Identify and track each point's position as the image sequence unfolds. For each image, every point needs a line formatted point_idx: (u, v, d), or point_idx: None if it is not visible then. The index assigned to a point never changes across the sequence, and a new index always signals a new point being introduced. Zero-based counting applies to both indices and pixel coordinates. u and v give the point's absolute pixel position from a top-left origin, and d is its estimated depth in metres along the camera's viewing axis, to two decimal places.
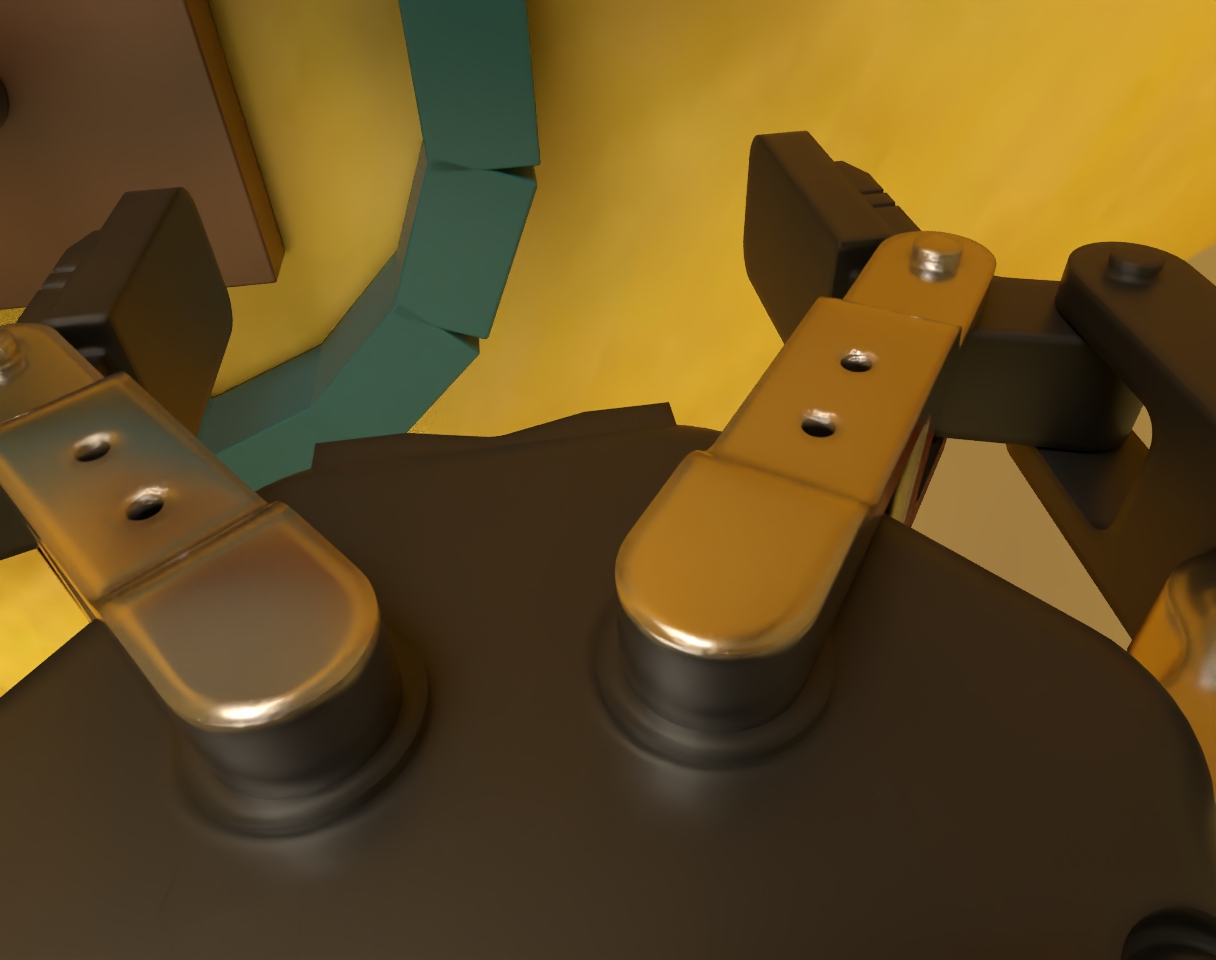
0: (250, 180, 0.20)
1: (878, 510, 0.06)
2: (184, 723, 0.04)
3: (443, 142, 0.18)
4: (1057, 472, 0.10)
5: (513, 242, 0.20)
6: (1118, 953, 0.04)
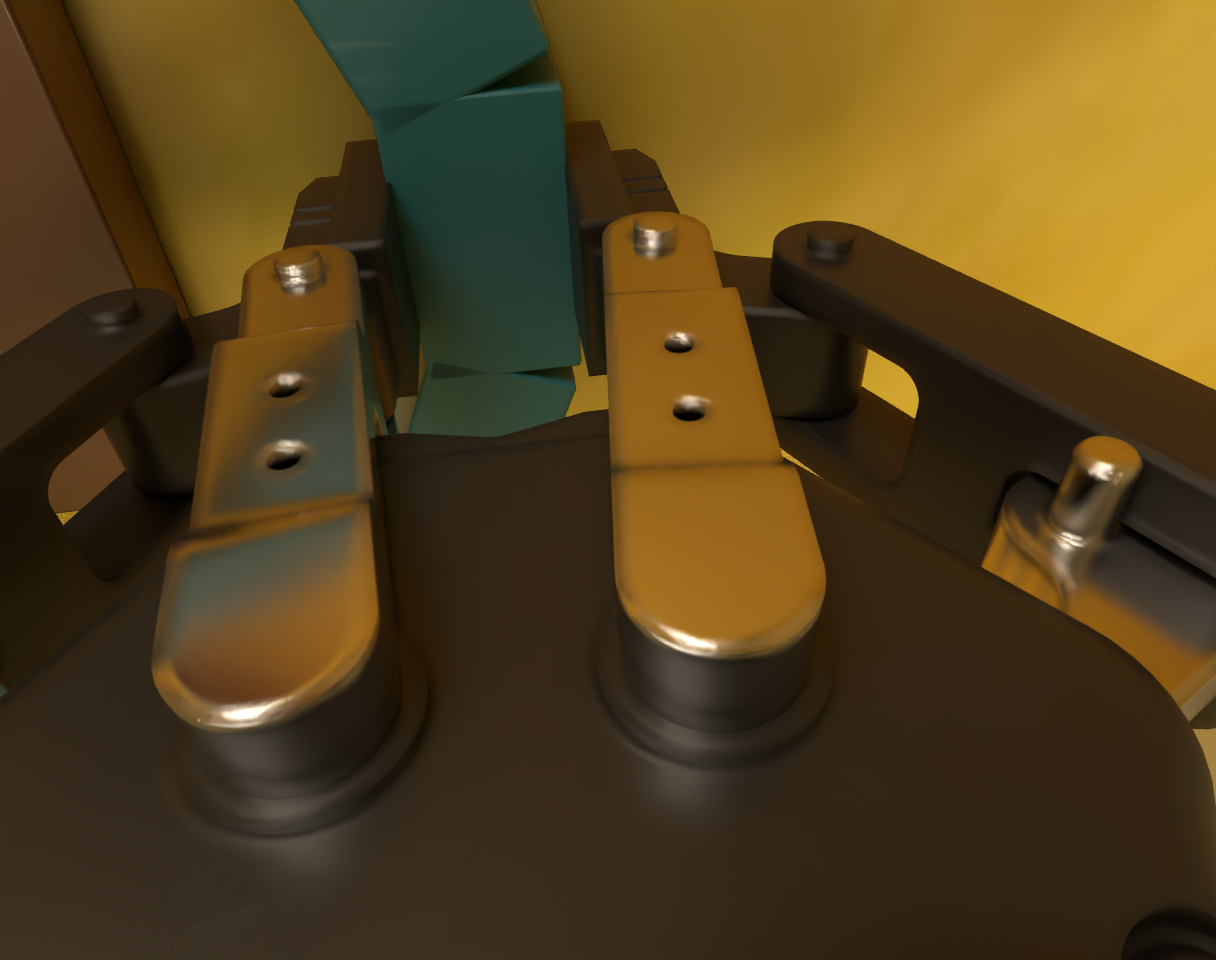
0: None
1: None
2: None
3: (447, 342, 0.13)
4: (824, 444, 0.10)
5: None
6: (1120, 954, 0.04)
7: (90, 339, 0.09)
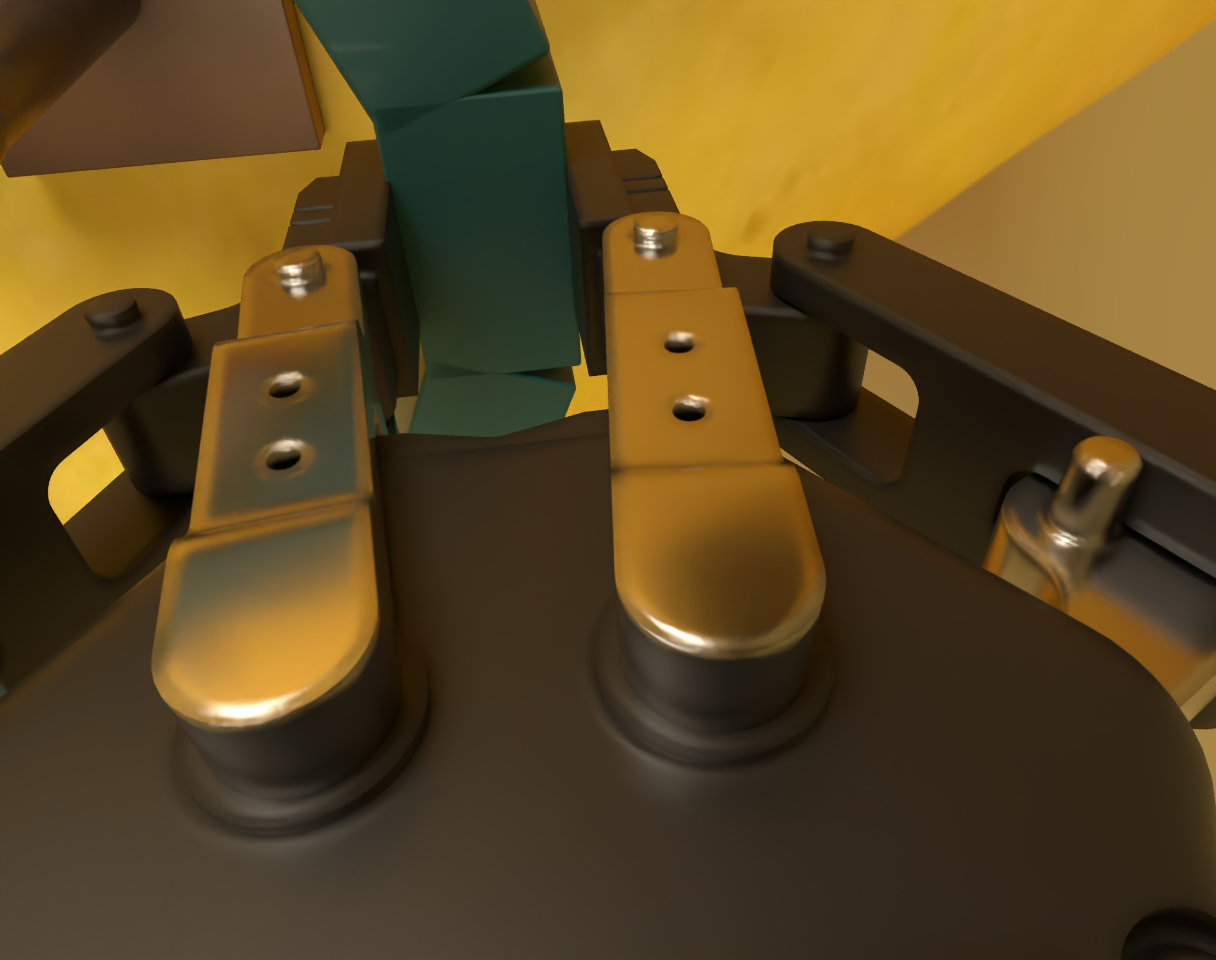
0: (303, 69, 0.28)
1: None
2: None
3: (447, 343, 0.13)
4: (824, 444, 0.10)
5: None
6: (1118, 953, 0.04)
7: (89, 340, 0.09)
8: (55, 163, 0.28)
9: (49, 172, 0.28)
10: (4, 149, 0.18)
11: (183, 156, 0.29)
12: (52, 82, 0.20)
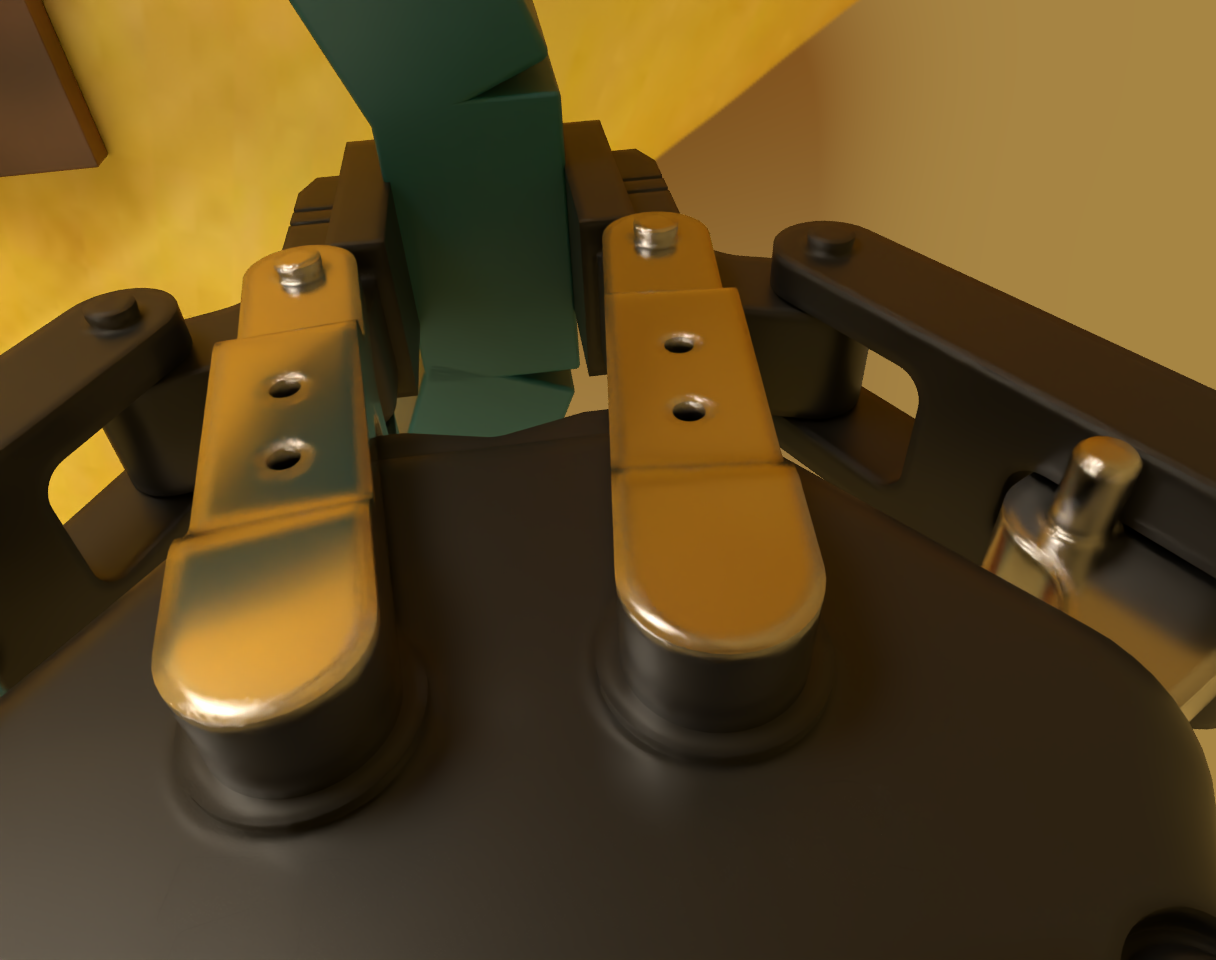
0: (78, 110, 0.39)
1: None
2: None
3: (446, 346, 0.13)
4: (824, 443, 0.10)
5: None
6: (1120, 953, 0.04)
7: (90, 340, 0.09)
8: None
9: None
10: None
11: None
12: None
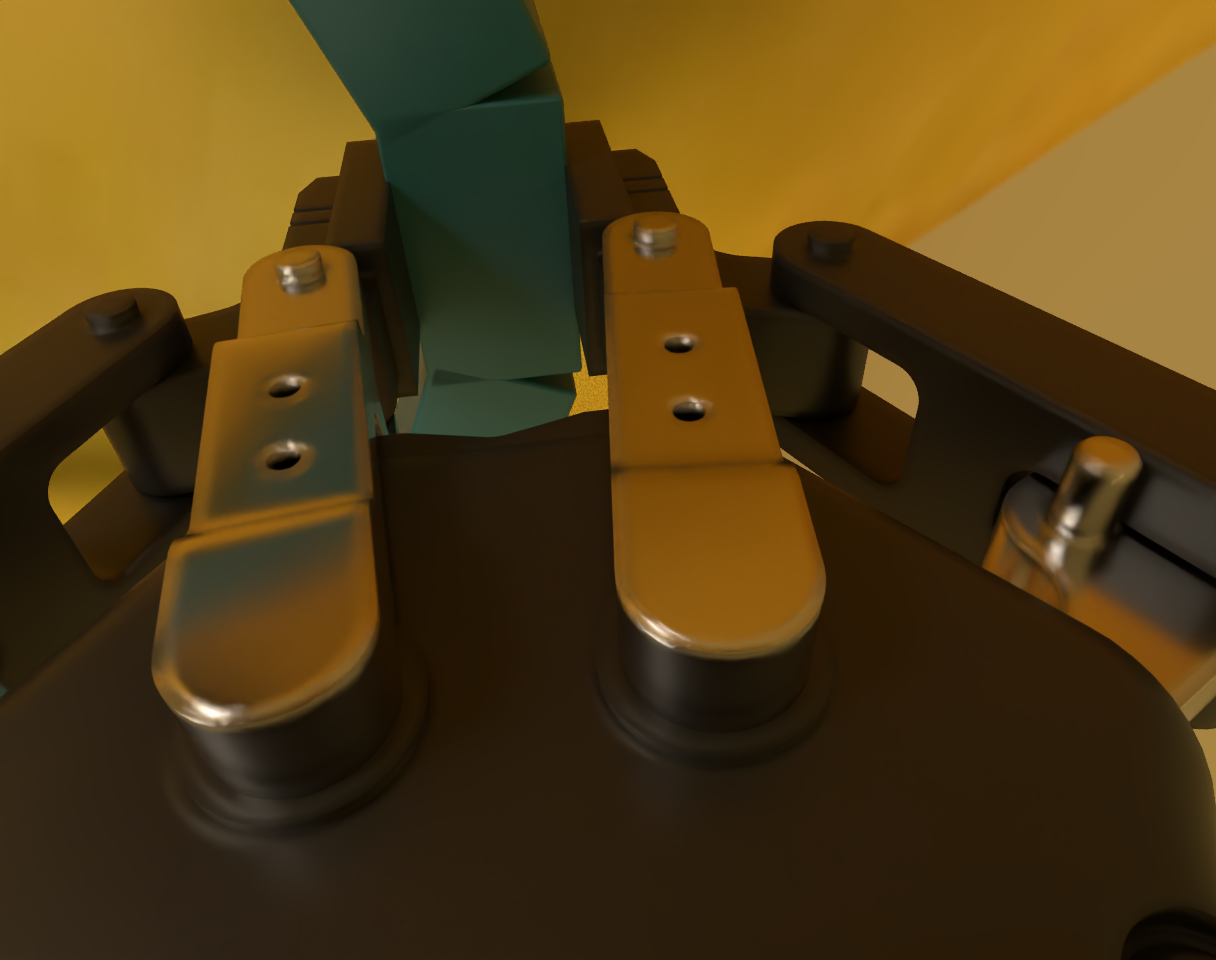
0: None
1: None
2: None
3: (449, 350, 0.13)
4: (824, 444, 0.10)
5: None
6: (1122, 954, 0.04)
7: (89, 341, 0.09)
8: None
9: None
10: None
11: None
12: None
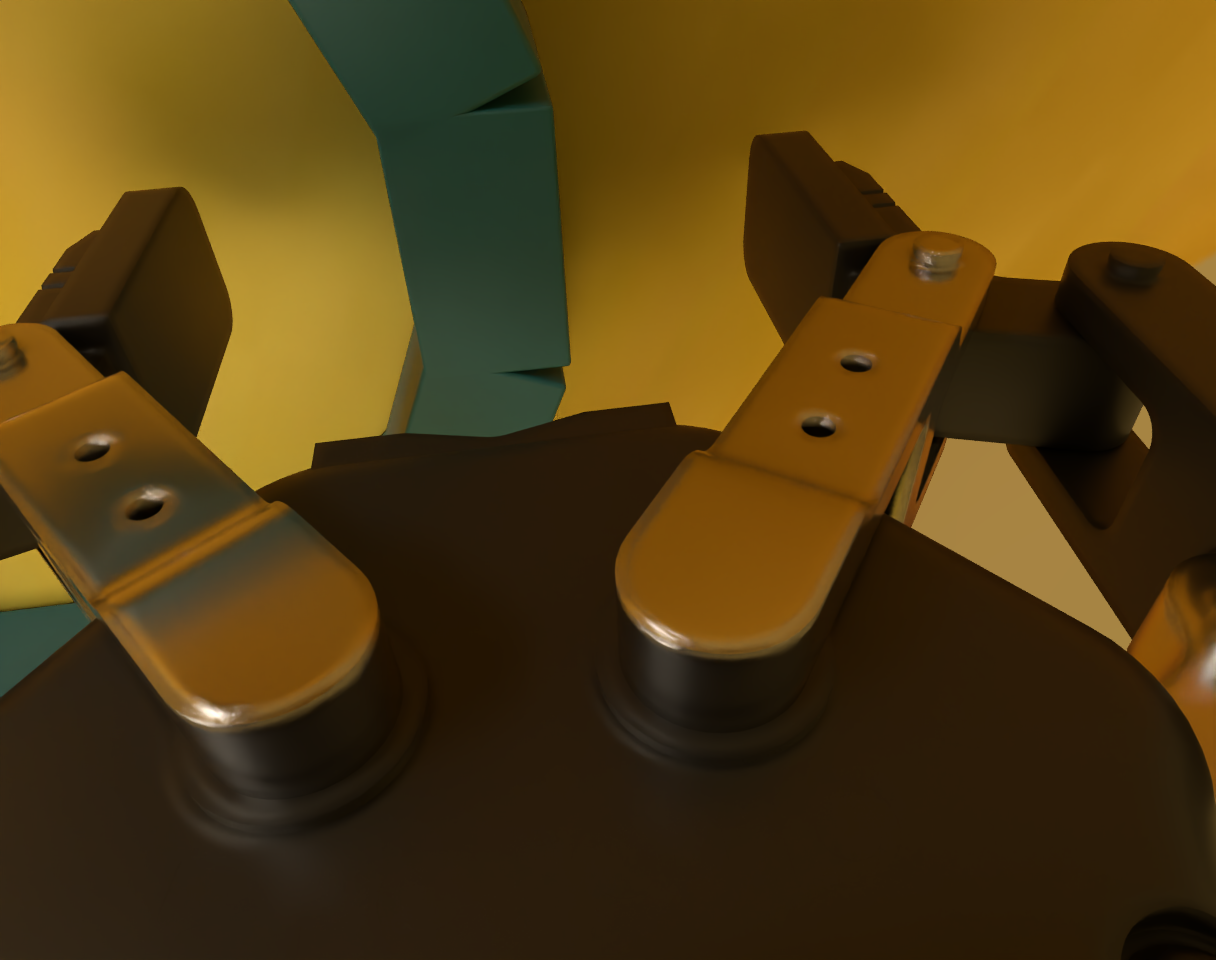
0: None
1: (878, 510, 0.06)
2: (184, 723, 0.04)
3: (444, 343, 0.14)
4: (1057, 472, 0.10)
5: None
6: (1120, 953, 0.04)
7: None
8: None
9: None
10: None
11: None
12: None
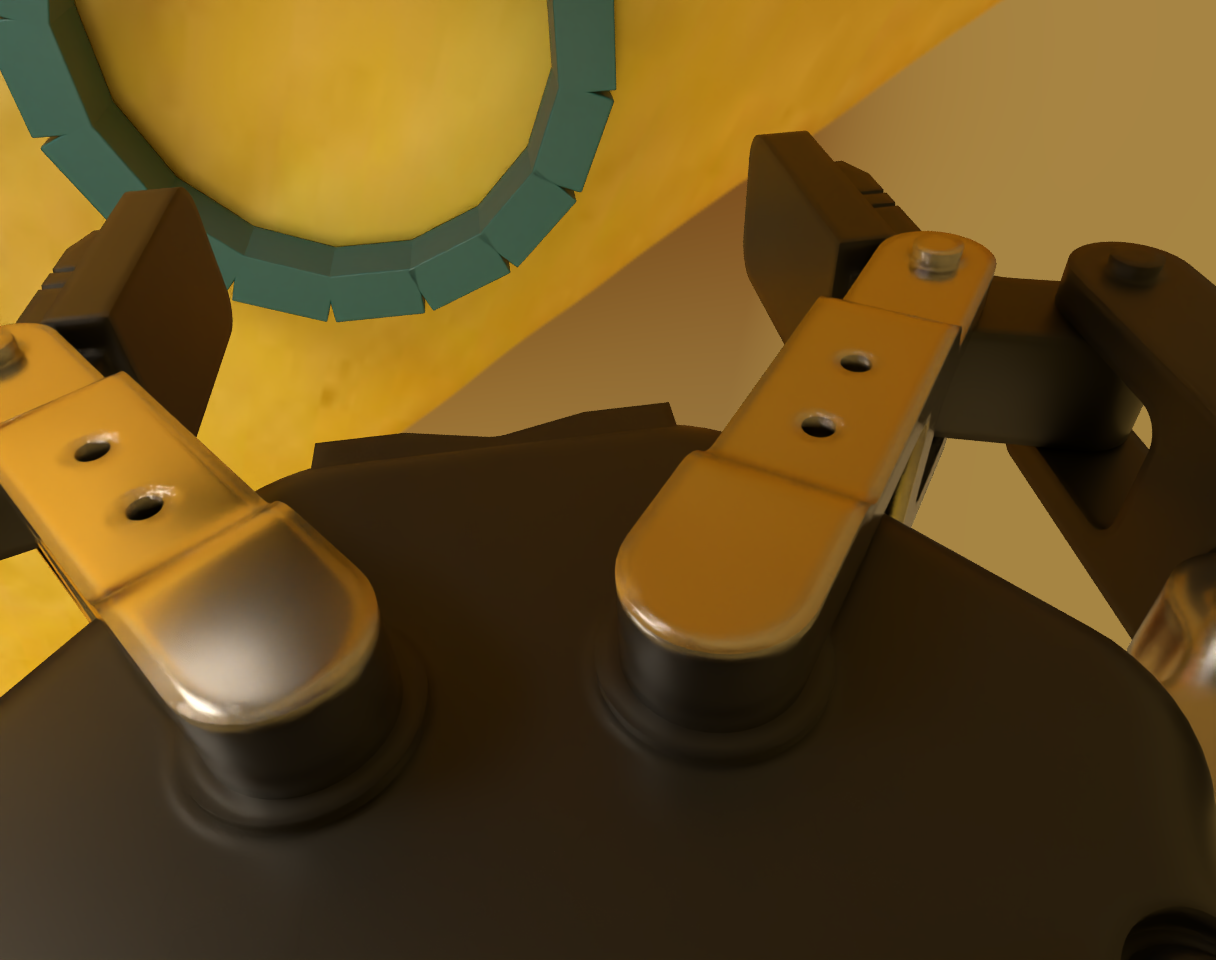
0: None
1: (878, 510, 0.06)
2: (184, 723, 0.04)
3: (567, 76, 0.36)
4: (1057, 472, 0.10)
5: (599, 133, 0.37)
6: (1122, 954, 0.04)
7: None
8: None
9: None
10: None
11: None
12: None
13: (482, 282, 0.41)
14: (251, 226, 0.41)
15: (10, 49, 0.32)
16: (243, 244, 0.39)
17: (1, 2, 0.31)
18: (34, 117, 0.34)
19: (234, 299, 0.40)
